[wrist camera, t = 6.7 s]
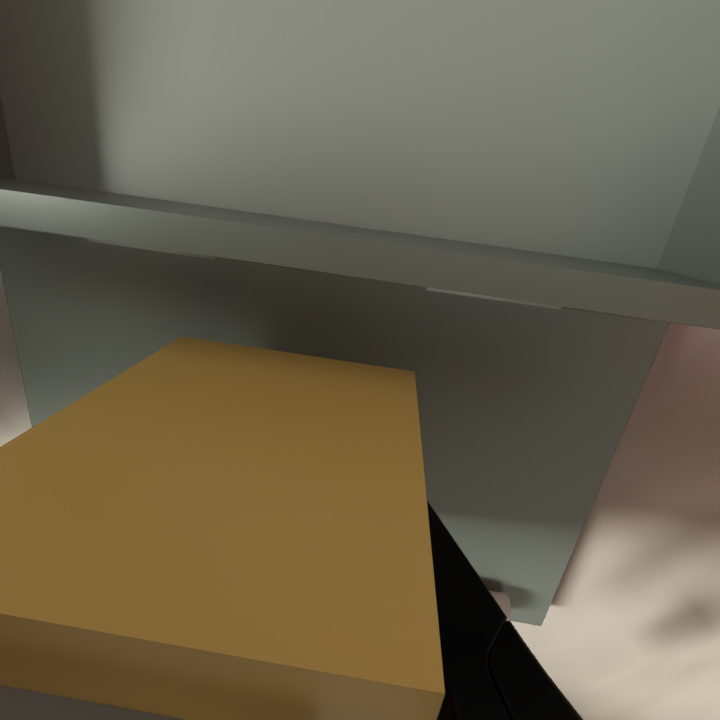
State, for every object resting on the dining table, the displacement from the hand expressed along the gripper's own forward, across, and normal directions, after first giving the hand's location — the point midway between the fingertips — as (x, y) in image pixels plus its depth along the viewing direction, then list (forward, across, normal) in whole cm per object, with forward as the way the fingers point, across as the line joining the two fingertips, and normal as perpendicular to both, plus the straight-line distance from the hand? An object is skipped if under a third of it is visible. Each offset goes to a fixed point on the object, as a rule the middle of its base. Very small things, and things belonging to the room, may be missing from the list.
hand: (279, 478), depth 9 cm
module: (+1, 0, 0) cm, 1 cm away
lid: (+3, 0, +1) cm, 3 cm away
